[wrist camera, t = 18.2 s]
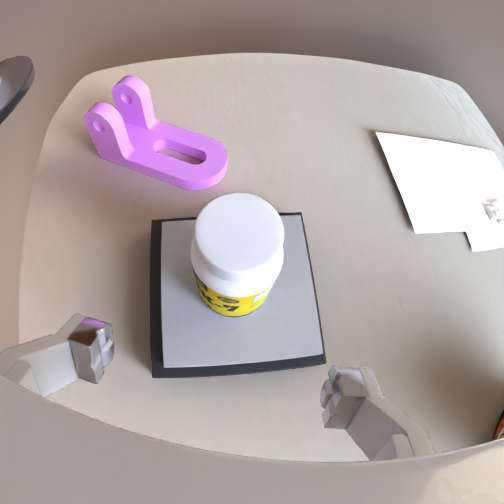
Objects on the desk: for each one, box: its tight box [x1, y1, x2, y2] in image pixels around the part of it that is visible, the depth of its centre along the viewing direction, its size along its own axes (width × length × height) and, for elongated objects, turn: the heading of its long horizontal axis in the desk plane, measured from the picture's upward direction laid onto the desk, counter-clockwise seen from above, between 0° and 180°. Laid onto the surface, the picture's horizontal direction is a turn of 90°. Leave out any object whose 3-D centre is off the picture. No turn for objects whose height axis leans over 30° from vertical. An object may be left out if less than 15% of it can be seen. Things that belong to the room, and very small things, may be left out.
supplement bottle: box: [190, 193, 284, 318], centre depth 17 cm, size 5×5×8 cm
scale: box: [150, 212, 326, 378], centre depth 22 cm, size 12×12×3 cm
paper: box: [376, 132, 504, 252], centre depth 30 cm, size 25×17×1 cm
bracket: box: [84, 76, 227, 190], centre depth 25 cm, size 13×6×7 cm, turn 67°
